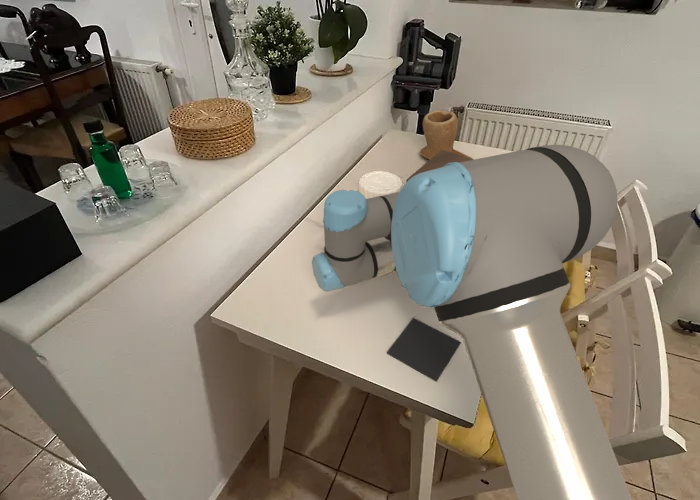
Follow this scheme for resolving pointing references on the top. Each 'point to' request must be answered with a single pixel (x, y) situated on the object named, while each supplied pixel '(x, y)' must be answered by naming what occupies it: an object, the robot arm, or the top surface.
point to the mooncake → (379, 184)
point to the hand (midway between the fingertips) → (480, 226)
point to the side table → (440, 161)
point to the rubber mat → (424, 349)
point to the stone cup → (440, 133)
